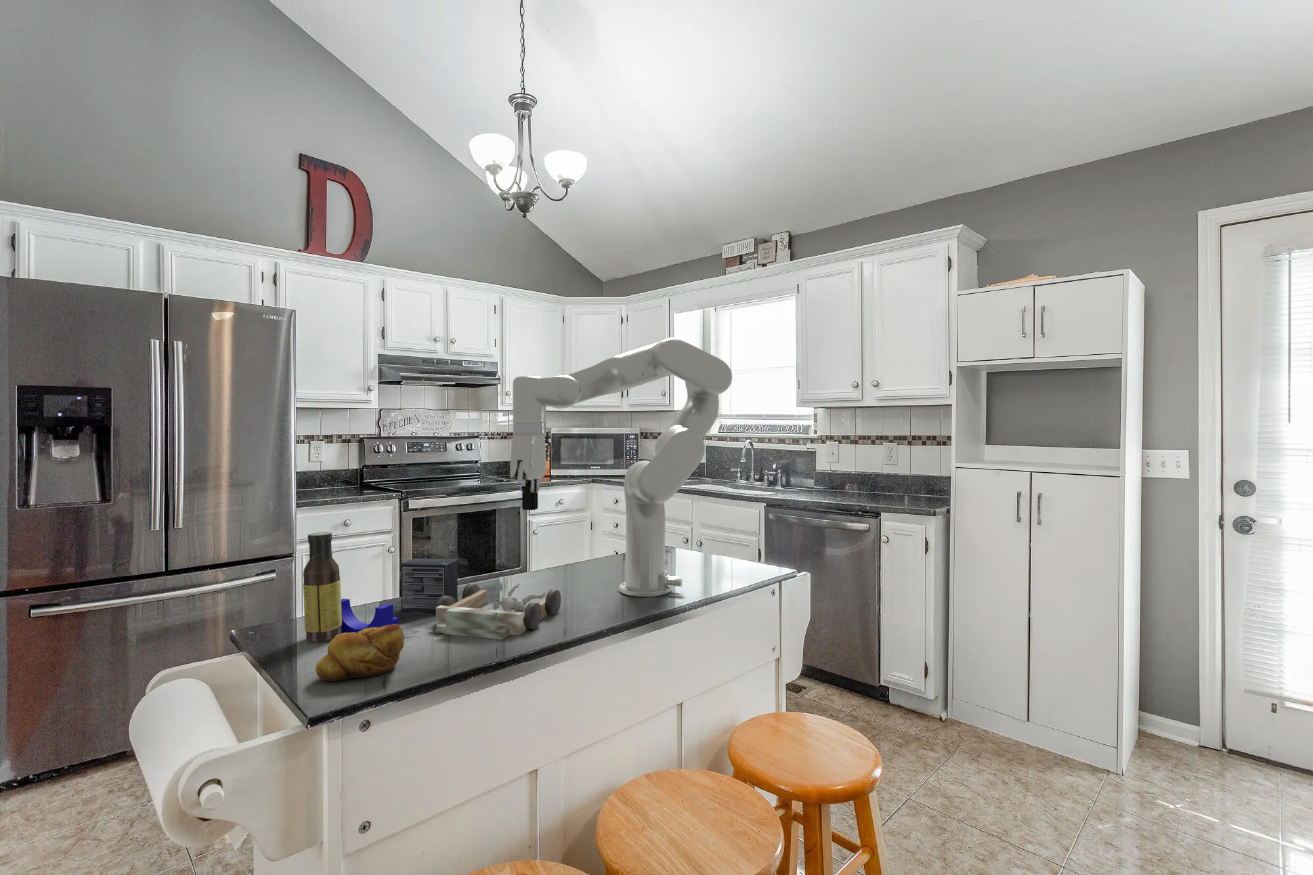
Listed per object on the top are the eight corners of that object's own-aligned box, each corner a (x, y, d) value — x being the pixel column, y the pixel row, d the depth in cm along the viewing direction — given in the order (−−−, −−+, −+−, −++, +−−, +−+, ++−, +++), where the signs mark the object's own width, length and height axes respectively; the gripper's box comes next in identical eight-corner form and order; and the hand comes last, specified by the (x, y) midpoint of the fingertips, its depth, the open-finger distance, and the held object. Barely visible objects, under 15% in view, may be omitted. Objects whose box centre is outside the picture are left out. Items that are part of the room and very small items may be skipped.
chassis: (561, 609, 137) (561, 587, 137) (519, 641, 118) (519, 614, 117) (475, 602, 143) (475, 580, 142) (420, 631, 123) (420, 606, 123)
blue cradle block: (398, 632, 123) (398, 602, 122) (382, 640, 118) (381, 608, 118) (349, 626, 126) (349, 596, 126) (331, 633, 122) (331, 602, 122)
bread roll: (317, 692, 95) (317, 639, 95) (312, 670, 103) (312, 622, 103) (407, 674, 102) (407, 625, 102) (395, 655, 110) (395, 610, 110)
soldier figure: (553, 615, 137) (508, 609, 128) (539, 627, 139) (494, 622, 130) (544, 585, 142) (500, 577, 133) (530, 597, 143) (487, 590, 135)
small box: (459, 604, 141) (459, 558, 141) (446, 613, 135) (446, 564, 135) (414, 603, 142) (414, 556, 142) (399, 611, 136) (399, 563, 136)
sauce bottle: (345, 631, 123) (344, 529, 122) (337, 642, 117) (336, 535, 116) (309, 633, 121) (308, 530, 121) (298, 645, 115) (298, 536, 115)
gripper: (528, 429, 153) (529, 504, 154) (499, 430, 139) (499, 513, 139) (557, 429, 151) (558, 505, 152) (530, 430, 137) (531, 514, 137)
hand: (530, 509), depth 145 cm, fingers closed
